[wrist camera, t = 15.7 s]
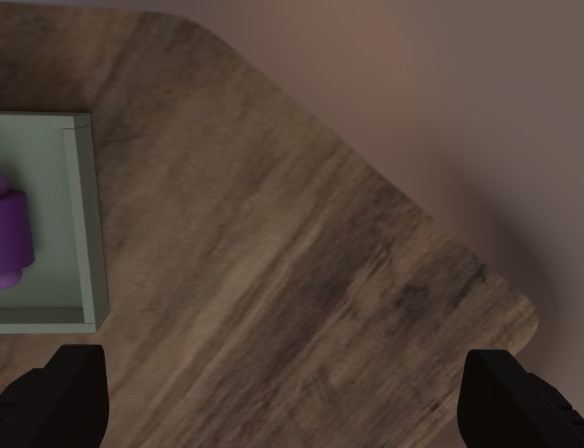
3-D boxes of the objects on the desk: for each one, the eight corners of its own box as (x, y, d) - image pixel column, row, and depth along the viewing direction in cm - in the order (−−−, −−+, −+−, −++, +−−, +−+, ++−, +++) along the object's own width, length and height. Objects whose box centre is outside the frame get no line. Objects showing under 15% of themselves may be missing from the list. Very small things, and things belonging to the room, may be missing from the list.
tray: (-83, 109, 32) (-118, 111, 29) (90, 112, 33) (73, 115, 30) (-42, 313, 36) (-69, 334, 33) (109, 313, 37) (96, 333, 34)
